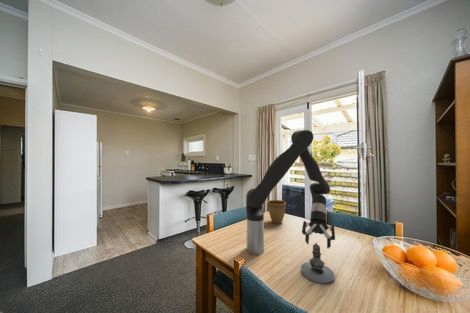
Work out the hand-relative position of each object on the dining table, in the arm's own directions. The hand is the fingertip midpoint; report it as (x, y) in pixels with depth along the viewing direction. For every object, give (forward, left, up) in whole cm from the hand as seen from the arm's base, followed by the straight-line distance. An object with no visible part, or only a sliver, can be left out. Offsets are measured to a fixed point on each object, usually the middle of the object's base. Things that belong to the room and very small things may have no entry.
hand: (317, 245), depth 80 cm
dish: (-3, -5, -10) cm, 11 cm away
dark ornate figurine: (-3, -5, -9) cm, 10 cm away
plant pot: (-4, +58, -10) cm, 59 cm away
